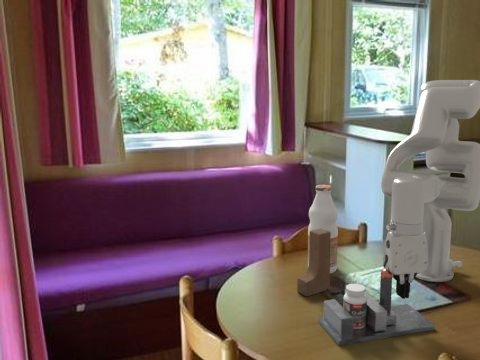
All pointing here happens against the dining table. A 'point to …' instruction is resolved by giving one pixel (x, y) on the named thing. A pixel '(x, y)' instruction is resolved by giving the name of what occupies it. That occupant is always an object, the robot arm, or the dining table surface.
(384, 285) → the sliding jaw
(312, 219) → the fruit juice
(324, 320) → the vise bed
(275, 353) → the dining table surface
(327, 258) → the wooden block
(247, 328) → the dining table surface
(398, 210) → the robot arm
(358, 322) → the pill bottle
